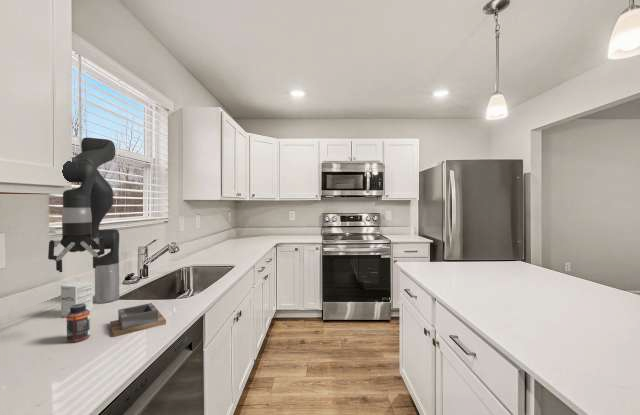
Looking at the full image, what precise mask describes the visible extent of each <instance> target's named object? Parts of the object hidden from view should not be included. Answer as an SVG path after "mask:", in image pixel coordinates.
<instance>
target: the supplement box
mask: <svg viewBox="0 0 640 415" xmlns="http://www.w3.org/2000/svg"><path fill="white" fill-rule="evenodd" d="M93 302H94V300H93V282H92V281H79V280H78V281H73V282H69V283H67V284H62V285H60V315H61V316H60V317H61V318H62V317H65V318H67V315H68V313H70V307H71V306H73V305H76V304H86V309H87V310H89V312H90V313H92V312H93V310H94V309H93V305H94V304H93Z"/></svg>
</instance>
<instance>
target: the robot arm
mask: <svg viewBox="0 0 640 415" xmlns="http://www.w3.org/2000/svg"><path fill="white" fill-rule="evenodd" d="M80 148H81V152H80V153H78V154H77V155H75V156H74V157H73V156H72V157H71V158H72V162H71V161H67V162H66V163H65V164H64V165H63V170H62V173H63V176H64V178H65V179H66V180H67V181H69V182H68V183H81V184H80V186H79V187H77V188H72V189H66V190H64V191H63V193H62V211H61V212H62V213H61V231H62V232H61V233H62V234H61V235H62V236H61V237H62V238H61V240H59V239H57V240H54V239H50V240H49V242H48V254H47V255H48V256H47V259H48V260H51V261H55V266H56V269H55V270H56V271H57V272H58V271H59V273H63V258H64V257H65V256H66V254H68V253H77V252H82V253H83V252H85V251H87V252H88V253H89V254H90V255H92V269H94V302H95V304H106V303H112V302H115V301H118V300H119V299H120V254H119V253H120V250H119V249H120V232H119V230H118V229H116V228H115V229H113V228H111V229H109V228H108V229H100V225H101V222H102V221H103V219H104V217H105V216H107V214H108V213H109V211H110V210H111V209H112V207H113V206H114V192H113V188H112V186H111V184H110V183H109V182H108V181H107V180H106V179H105V178H104V176H103V175H102V174H101V173H100V171H99V170H98V168H99V167H100V166H102V165H103V164H107V163H108V162H111V161H113V160H114V159H115V157H116V145H115V142H113V141H112V140H110V139H105V138H100V137H99V138H96V137H83V138H82V140H81V143H80ZM59 245H61V246H62V247H63V250H62V251H61V252H60V253H59V254H58V255H55V248H57V247H58V246H59ZM97 250H98V251H97ZM105 250H110V251H109V252H107V253H106V254H105ZM96 251H97V252H96Z"/></svg>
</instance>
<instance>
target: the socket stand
mask: <svg viewBox="0 0 640 415" xmlns="http://www.w3.org/2000/svg"><path fill="white" fill-rule="evenodd" d="M117 312H118V313H117V314H118V319H116V320H112V321H110V322H109V326H110V329H111V333H112V336H113V338H116V337H119V336H123V335H127V334H132V333H135V332H136V333H137V332H139V331H144V330H148V329H150V328H151V329H152V328H155V327H159V326H163V325H166V324H167V319H166V318H165V317H164V315H163V314H162V313H161V312H160V311H159V310H158V309H157V307H156V306H155V305H154V304H153V303H152V302H149V303H145V304H140V305H135V306H130V307H125V308H120V309H118V311H117Z"/></svg>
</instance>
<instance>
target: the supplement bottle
mask: <svg viewBox="0 0 640 415" xmlns="http://www.w3.org/2000/svg"><path fill="white" fill-rule="evenodd" d="M90 313H91V312H89V310H87V309H86V304H76V305H73V306H71V307H70V313H68V315H67V317H66V341H67V342H68V343H78V342H81V341H85V340H87V339H88V338H89V337H90V336H91V319H90V316H91V314H90Z"/></svg>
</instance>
